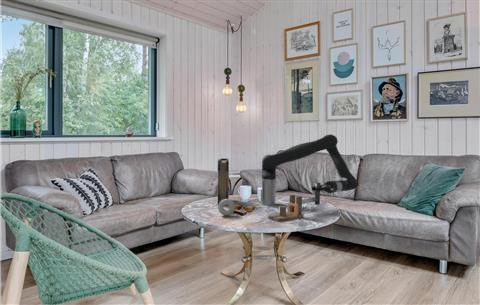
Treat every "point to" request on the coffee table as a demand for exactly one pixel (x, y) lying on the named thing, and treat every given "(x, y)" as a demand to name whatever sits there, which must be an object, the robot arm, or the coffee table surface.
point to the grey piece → (317, 196)
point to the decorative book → (223, 179)
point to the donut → (223, 203)
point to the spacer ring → (296, 208)
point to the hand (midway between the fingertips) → (314, 189)
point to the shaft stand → (286, 216)
